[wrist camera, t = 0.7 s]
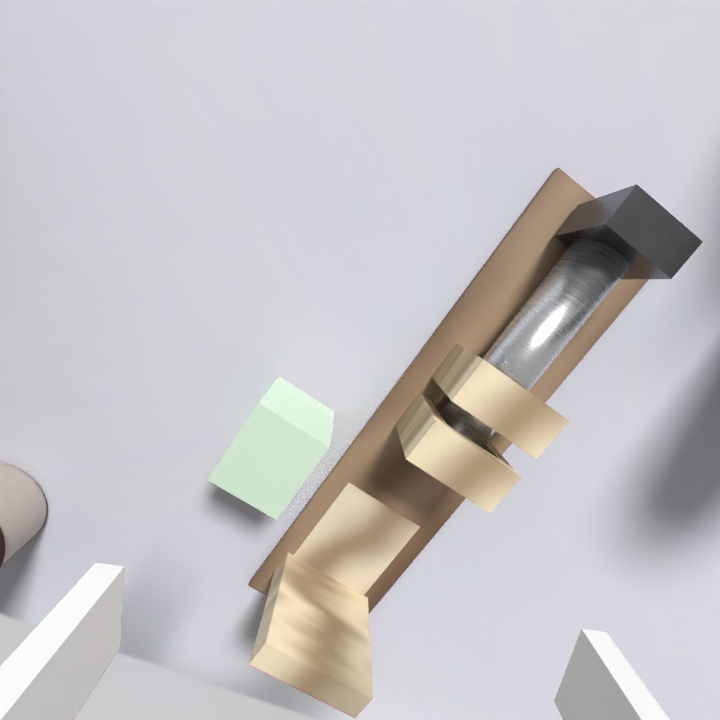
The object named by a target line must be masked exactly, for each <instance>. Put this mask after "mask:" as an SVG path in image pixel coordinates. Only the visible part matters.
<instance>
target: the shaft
mask: <svg viewBox="0 0 720 720" xmlns="http://www.w3.org/2000/svg"><path fill="white" fill-rule="evenodd" d="M555 237H556V238H557V239H559V240H560V241H561V242H562V243H564V244H565V245H566V246H567V247H569V248H568V249H567V251H566V252H565V253H564V254H563V256H562V257H561V258H560V260H559V261H558V262H557V263H556V265H555V266H554V267H553V269H552V270H551V271H550V272H549V274H548V275H547V276H546V278H545V279H544V280H543V281H542V283H541V284H540V285H539V286H538V288H537V289H536V290H535V292H534V293H533V294H532V295H531V297H530V298H529V299H528V301H527V302H526V303H525V304H524V306H523V307H522V308H521V310H520V311H519V312H518V313H517V315H516V316H515V317H514V319H513V320H512V321H511V322H510V324H509V325H508V326H507V328H506V329H505V330H504V331H503V333H502V334H501V335H500V337H499V338H498V339H497V340H496V342H495V343H494V344H493V346H492V347H491V348H490V349H489V351H488V352H487V353H486V354H485V356H484V357H483V358H482V359H484V360H485V361H487V362H488V363H489V364H491V365H492V366H493V367H495V368H496V369H498V370H499V371H500V372H502V373H503V374H505V375H506V376H507V377H509V378H510V379H512V380H513V381H514V382H516V383H517V384H519V385H520V386H521V387H523V388H524V389H526V390H527V391H529V390H530V389H531V388H532V386H533V385H534V384H535V383H536V382H537V380H538V379H539V378H540V377H541V375H542V374H543V373H544V372H545V371H546V369H547V368H548V367H549V366H550V365H551V363H552V362H553V361H554V360H555V358H556V357H557V356H558V355H559V354H560V352H561V351H562V350H563V349H564V347H565V346H566V345H567V344H568V343H569V341H570V340H571V339H572V338H573V337H574V335H575V334H576V333H577V332H578V330H579V329H580V328H581V327H582V326H583V324H584V323H585V322H586V321H587V319H588V318H589V317H590V316H591V315H592V313H593V312H594V311H595V310H596V308H597V307H598V306H599V305H600V304H601V302H602V301H603V300H604V299H605V298H606V296H607V295H608V294H609V293H610V291H611V290H612V289H613V288H614V287H615V285H616V284H617V283H618V282H619V280H620V279H672V277H673V276H674V275H675V274H676V273H677V271H678V270H679V269H680V268H681V267H682V266H683V264H684V263H685V262H686V261H687V260H688V259H689V257H690V256H691V255H692V254H693V253H694V251H695V250H696V249H697V248H698V247H699V246H700V244H701V243H702V241H701V240H700V239H699V238H698V237H697V236H696V235H694V234H693V233H692V232H691V231H690V230H689V229H687V228H686V227H685V226H684V225H683V224H682V223H681V222H679V221H678V220H677V219H676V218H675V217H674V216H673V215H671V214H670V213H669V212H668V211H667V210H666V209H664V208H663V207H662V206H661V205H660V204H659V203H658V202H656V201H655V200H654V199H653V198H652V197H651V196H649V195H648V194H647V193H646V192H645V191H644V190H643V189H641V188H640V187H639V186H638V185H634V186H631V187H628V188H625V189H622V190H619V191H617V192H614V193H611V194H608V195H605V196H602V197H599V198H596V199H593V200H590V201H588V202H585V203H582V204H579V205H578V206H577V207H576V208H575V210H574V211H573V212H572V214H571V215H570V216H569V217H568V219H567V220H566V221H565V223H564V224H563V225H562V227H561V228H560V229H559V231H558V232H557V233H556V234H555ZM440 414H441V416H442V417H443V419H444V420H445V422H446V423H447V425H448V426H450V427H451V428H453V429H454V430H456V431H457V432H459V433H460V434H462V435H463V436H465V437H466V438H468V439H469V440H471V441H472V442H474V443H475V444H477V445H478V446H480V447H481V448H482V447H483V446H484V445H485V444H486V442H487V441H488V440H489V439H490V438H491V436H492V435H493V434H494V433H495V430H493V429H492V428H490V427H489V426H487V425H486V424H485V423H483V422H482V421H480V420H479V419H477V418H476V417H474V416H473V415H471V414H470V413H469V412H467V411H466V410H464V409H463V408H461V407H460V406H458V405H457V404H455V403H454V402H452V401H451V400H450V401H449V402H448V403H447V405H446V406H445V407H444V408H443V410H442V411H441V412H440Z"/></svg>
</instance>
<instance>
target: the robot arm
mask: <svg viewBox="0 0 720 720" xmlns="http://www.w3.org/2000/svg"><path fill="white" fill-rule="evenodd" d="M123 584H124V567H123V566H116V565H108V564H101V563H95V564H94V565H93V566H92V567H91V568H90V569H89V571H88V572H87V573H86V574H85V575H84V576H83V577H82V578H81V579H80V580H79V581H78V582H77V584H76V585H75V586H74V587H73V588H72V589H71V590H70V591H69V592H68V593H67V594H66V596H65V597H64V598H63V599H62V600H61V601H60V602H59V603H58V604H57V605H56V606H55V607H54V609H53V610H52V611H51V612H50V613H49V614H48V615H47V616H46V617H45V618H44V619H43V621H42V622H41V623H40V624H39V625H38V626H37V627H36V628H35V629H34V630H33V631H32V632H31V634H30V635H29V636H28V637H27V638H26V639H25V640H24V641H23V642H22V643H21V644H20V646H19V647H18V648H17V649H16V650H15V651H14V652H13V653H12V654H11V655H10V656H9V657H8V659H7V660H6V661H5V662H4V663H3V664H2V665H1V666H0V720H74V719H75V717H76V716H77V714H78V713H79V711H80V710H81V708H82V706H83V705H84V703H85V702H86V700H87V698H88V697H89V695H90V694H91V692H92V691H93V689H94V688H95V686H96V685H97V683H98V681H99V680H100V678H101V677H102V675H103V674H104V672H105V670H106V669H107V667H108V666H109V664H110V663H111V661H112V660H113V658H114V656H115V655H116V653H117V652H118V650H119V649H120V645H121V624H122V604H123ZM555 703H556V705H557V707H558V710H559V712H560V714H561V716H562V718H563V720H669V718H668V717H667V715H666V714H665V713H664V711H663V710H662V708H661V707H660V706H659V704H658V703H657V702H656V700H655V699H654V697H653V696H652V695H651V693H650V692H649V690H648V689H647V688H646V686H645V685H644V684H643V682H642V681H641V679H640V678H639V677H638V675H637V674H636V672H635V671H634V670H633V668H632V667H631V666H630V664H629V663H628V661H627V660H626V659H625V657H624V656H623V654H622V653H621V652H620V650H619V649H618V648H617V646H616V645H615V643H614V642H613V641H612V639H611V638H610V636H609V635H608V634H607V632H602V631H594V630H587V629H581V632H580V634H579V637H578V640H577V642H576V645H575V648H574V650H573V653H572V656H571V658H570V661H569V664H568V666H567V669H566V671H565V674H564V677H563V679H562V682H561V685H560V687H559V690H558V693H557V695H556V698H555Z"/></svg>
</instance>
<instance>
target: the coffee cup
mask: <svg viewBox="0 0 720 720" xmlns="http://www.w3.org/2000/svg"><path fill="white" fill-rule="evenodd" d="M46 513H47V508H46V500H45V497H44V494H43V492H42V490H41V488H40V487H39V486H38V484H37V483H36V482H35V481H34V480H33V479H32V478H31V477H30V476H29V475H28V474H26V473H25V472H23V471H22V470H20V469H18V468H16V467H14V466H11V465H8V464H5V463H0V567H1V565H2V564H4V563H5V562H6V561H7V560H8V559H9V558H10V557H11V556H13V555H14V554H15V553H16V552H17V551H18V550H19V549H20V548H21V547H23V546H24V545H25V544H26V543H27V542H28V541H29V540H30V539H31V538H33V537H34V536H35V535H36V534H37V532H38V531H39V530H40V529H41V527H42V525H43V523H44V521H45V518H46Z"/></svg>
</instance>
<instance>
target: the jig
mask: <svg viewBox="0 0 720 720" xmlns="http://www.w3.org/2000/svg"><path fill="white" fill-rule="evenodd" d="M593 199H595V198H594V197H593V196H592V195H591V194H589V193H588V192H587V191H586V190H585V189H584V188H582V187H581V186H580V185H579V184H578V183H576V182H575V181H574V180H573V179H572V178H570V177H569V176H568V175H567V174H566V173H564V172H563V171H562V170H561V169H560V168H557V169H555V170H554V171H553V172H552V174H551V175H550V176H549V178H548V179H547V180H546V182H545V183H544V185H543V186H542V187H541V189H540V190H539V191H538V193H537V194H536V195H535V197H534V198H533V199H532V201H531V202H530V203H529V205H528V206H527V207H526V209H525V210H524V212H523V213H522V214H521V216H520V217H519V218H518V220H517V221H516V222H515V224H514V225H513V226H512V228H511V229H510V230H509V232H508V233H507V234H506V236H505V237H504V239H503V240H502V241H501V243H500V244H499V245H498V247H497V248H496V249H495V251H494V252H493V253H492V255H491V256H490V257H489V259H488V260H487V261H486V263H485V264H484V266H483V267H482V268H481V270H480V271H479V272H478V274H477V275H476V276H475V278H474V279H473V280H472V282H471V283H470V284H469V286H468V287H467V289H466V290H465V291H464V293H463V294H462V295H461V297H460V298H459V299H458V301H457V302H456V303H455V305H454V306H453V307H452V309H451V310H450V311H449V313H448V314H447V316H446V317H445V318H444V320H443V321H442V322H441V324H440V325H439V326H438V328H437V329H436V330H435V332H434V333H433V334H432V336H431V337H430V338H429V340H428V341H427V343H426V344H425V345H424V347H423V348H422V349H421V351H420V352H419V353H418V355H417V356H416V357H415V359H414V360H413V361H412V363H411V364H410V365H409V367H408V368H407V370H406V371H405V372H404V374H403V375H402V376H401V378H400V379H399V380H398V382H397V383H396V384H395V386H394V387H393V388H392V390H391V391H390V392H389V394H388V395H387V397H386V398H385V399H384V401H383V402H382V403H381V405H380V406H379V407H378V409H377V410H376V411H375V413H374V414H373V415H372V417H371V418H370V419H369V421H368V422H367V424H366V425H365V426H364V428H363V429H362V430H361V432H360V433H359V434H358V436H357V437H356V438H355V440H354V441H353V442H352V444H351V445H350V446H349V448H348V449H347V451H346V452H345V453H344V455H343V456H342V457H341V459H340V460H339V461H338V463H337V464H336V465H335V467H334V468H333V469H332V471H331V472H330V473H329V475H328V476H327V478H326V479H325V480H324V482H323V483H322V484H321V486H320V487H319V488H318V490H317V491H316V492H315V494H314V495H313V496H312V498H311V499H310V500H309V502H308V503H307V505H306V506H305V507H304V509H303V510H302V511H301V513H300V514H299V515H298V517H297V518H296V519H295V521H294V522H293V523H292V525H291V526H290V527H289V529H288V530H287V532H286V533H285V534H284V536H283V537H282V538H281V540H280V541H279V542H278V544H277V545H276V546H275V548H274V549H273V550H272V552H271V553H270V555H269V556H268V557H267V559H266V560H265V561H264V563H263V564H262V565H261V567H260V568H259V569H258V571H257V572H256V573H255V575H254V576H253V577H252V579H251V580H250V583H249V586H251V587H253V588H255V589H257V590H259V591H260V592H262V593H264V594H266V595H268V597H267V600H266V604H265V608H264V611H263V615H262V619H261V622H260V626H259V630H258V633H257V637H256V640H255V644H254V648H253V651H252V655H251V659H250V662H249V665H251V666H253V667H255V668H257V669H259V670H261V671H263V672H265V673H267V674H269V675H271V676H273V677H275V678H277V679H279V680H281V681H283V682H285V683H287V684H289V685H290V686H292V687H294V688H296V689H298V690H300V691H302V692H304V693H306V694H308V695H310V696H312V697H314V698H316V699H318V700H320V701H322V702H324V703H326V704H328V705H330V706H332V707H334V708H336V709H338V710H339V711H341V712H343V713H345V714H347V715H349V716H351V717H353V718H356V717H357V715H358V714H359V713H360V712H361V711H362V710H363V709H364V708H365V706H366V705H367V704H368V703H369V702H370V701H371V700H372V699H373V696H372V674H371V652H370V630H369V613H370V612H371V611H372V609H373V608H374V607H375V606H376V605H377V603H378V602H379V601H380V600H381V599H382V597H383V596H384V595H385V594H386V593H387V592H388V590H389V589H390V588H391V587H392V586H393V584H394V583H395V582H396V581H397V580H398V578H399V577H400V576H401V575H402V574H403V572H404V571H405V570H406V569H407V568H408V566H409V565H410V564H411V563H412V562H413V560H414V559H415V558H416V557H417V556H418V554H419V553H420V552H421V551H422V550H423V548H424V547H425V546H426V545H427V544H428V543H429V541H430V540H431V539H432V538H433V537H434V535H435V534H436V533H437V532H438V531H439V529H440V528H441V527H442V526H443V525H444V523H445V522H446V521H447V520H448V519H449V517H450V516H451V515H452V514H453V513H454V511H455V510H456V509H457V508H458V507H459V505H460V504H461V503H462V502H463V501H464V499H465V498H467V499H468V500H470V501H471V502H473V503H475V504H476V505H478V506H479V507H481V508H482V509H484V510H485V511H487V512H489V513H491V512H492V511H493V510H494V508H495V507H496V506H497V505H498V504H499V503H500V501H501V500H502V499H503V498H504V497H505V496H506V494H507V493H508V492H509V491H510V490H511V489H512V487H513V486H514V485H515V484H516V483H517V482H518V480H519V479H520V478H521V477H520V476H519V475H518V474H517V473H516V472H515V470H514V469H513V468H512V467H511V466H510V465H509V463H508V462H507V461H506V460H505V459H504V458H503V456H502V454H503V453H504V452H505V450H506V449H507V448H508V447H509V446H510V444H511V443H514V444H515V445H517V446H518V447H520V448H521V449H522V450H524V451H525V452H527V453H528V454H530V455H531V456H533V457H534V458H536V459H537V458H538V457H539V456H540V455H541V454H542V453H543V451H544V450H545V449H546V448H547V447H548V446H549V444H550V443H551V442H552V441H553V440H554V439H555V437H556V436H557V435H558V434H559V433H560V432H561V430H562V429H563V428H564V427H565V426H566V425H567V423H568V422H569V420H567V419H566V418H565V417H563V416H562V415H560V414H559V413H558V412H556V411H555V410H553V409H552V408H551V407H549V406H548V405H546V404H545V403H546V401H547V400H548V399H549V398H550V397H551V395H552V394H553V393H554V392H555V391H556V389H557V388H558V387H559V386H560V385H561V384H562V382H563V381H564V380H565V379H566V378H567V376H568V375H569V374H570V373H571V372H572V370H573V369H574V368H575V367H576V366H577V364H578V363H579V362H580V361H581V360H582V358H583V357H584V356H585V355H586V354H587V352H588V351H589V350H590V349H591V348H592V346H593V345H594V344H595V343H596V342H597V340H598V339H599V338H600V337H601V336H602V335H603V333H604V332H605V331H606V330H607V329H608V327H609V326H610V325H611V324H612V323H613V321H614V320H615V319H616V318H617V317H618V315H619V314H620V313H621V312H622V311H623V309H624V308H625V307H626V306H627V305H628V303H629V302H630V301H631V300H632V299H633V297H634V296H635V295H636V294H637V293H638V291H639V290H640V289H641V288H642V287H643V285H644V284H645V283H646V282H647V281H648V280H649V279H620V280H619V282H618V283H617V284H616V285H615V287H614V288H613V289H612V290H611V291H610V293H609V294H608V295H607V296H606V298H605V299H604V300H603V301H602V302H601V304H600V305H599V306H598V307H597V308H596V310H595V311H594V312H593V313H592V315H591V316H590V317H589V318H588V319H587V321H586V322H585V323H584V324H583V326H582V327H581V328H580V329H579V330H578V332H577V333H576V334H575V335H574V337H573V338H572V339H571V340H570V341H569V343H568V344H567V345H566V346H565V347H564V349H563V350H562V351H561V352H560V354H559V355H558V356H557V357H556V358H555V360H554V361H553V362H552V363H551V365H550V366H549V367H548V368H547V369H546V371H545V372H544V373H543V374H542V375H541V377H540V378H539V379H538V380H537V382H536V383H535V384H534V385H533V386H532V388H531V389H530V390H529V391H527V390H526V389H524V388H523V387H521V386H520V385H519V384H517V383H516V382H514V381H513V380H512V379H510V378H509V377H507V376H506V375H505V374H503V373H502V372H500V371H499V370H498V369H496V368H495V367H493V366H492V365H491V364H489V363H488V362H487V361H485V360H484V359H482V358H483V357H484V356H485V354H486V353H487V352H488V351H489V349H490V348H491V347H492V346H493V344H494V343H495V342H496V340H497V339H498V338H499V337H500V335H501V334H502V333H503V331H504V330H505V329H506V328H507V326H508V325H509V324H510V322H511V321H512V320H513V319H514V317H515V316H516V315H517V313H518V312H519V311H520V310H521V308H522V307H523V306H524V304H525V303H526V302H527V301H528V299H529V298H530V297H531V295H532V294H533V293H534V292H535V290H536V289H537V288H538V286H539V285H540V284H541V283H542V281H543V280H544V279H545V278H546V276H547V275H548V274H549V272H550V271H551V270H552V269H553V267H554V266H555V265H556V263H557V262H558V261H559V260H560V258H561V257H562V256H563V254H564V253H565V252H566V251H567V249H568V248H569V247H567V246H566V245H565V244H564V243H562V242H561V241H560V240H559V239H557V238H556V237H555V234H556V233H557V232H558V231H559V229H560V228H561V227H562V225H563V224H564V223H565V221H566V220H567V219H568V217H569V216H570V215H571V214H572V212H573V211H574V210H575V208H576V207H577V206H578V205H579V204H582V203H585V202H588V201H590V200H593ZM450 400H451V401H452V402H454V403H455V404H457V405H458V406H460V407H461V408H463V409H464V410H466V411H467V412H469V413H470V414H471V415H473V416H474V417H476V418H477V419H479V420H480V421H482V422H483V423H485V424H486V425H487V426H489V427H490V428H492V429H493V430H495V433H494V434H493V435H492V436H491V438H490V439H489V440H488V441H487V442H486V444H485V445H484V446H483V447H482V448H481V447H480V446H478V445H477V444H475V443H474V442H472V441H471V440H469V439H468V438H466V437H465V436H463V435H462V434H460V433H459V432H457V431H456V430H454V429H453V428H451V427H450V426H448V425H447V423H446V422H445V420H444V419H443V417H442V416H441V414H440V412H441V411H442V410H443V408H444V407H445V406H446V405H447V403H448V402H449V401H450Z"/></svg>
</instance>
